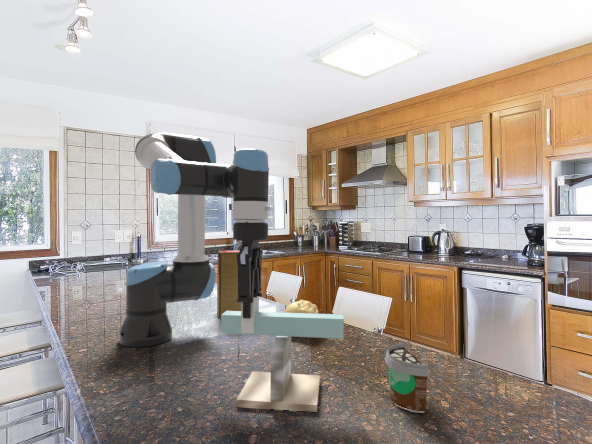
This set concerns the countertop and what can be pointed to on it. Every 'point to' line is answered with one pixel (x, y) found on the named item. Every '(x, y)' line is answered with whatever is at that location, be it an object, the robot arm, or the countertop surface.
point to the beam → (287, 324)
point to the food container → (407, 378)
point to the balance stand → (280, 384)
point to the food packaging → (227, 282)
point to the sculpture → (302, 307)
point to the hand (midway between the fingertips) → (250, 329)
